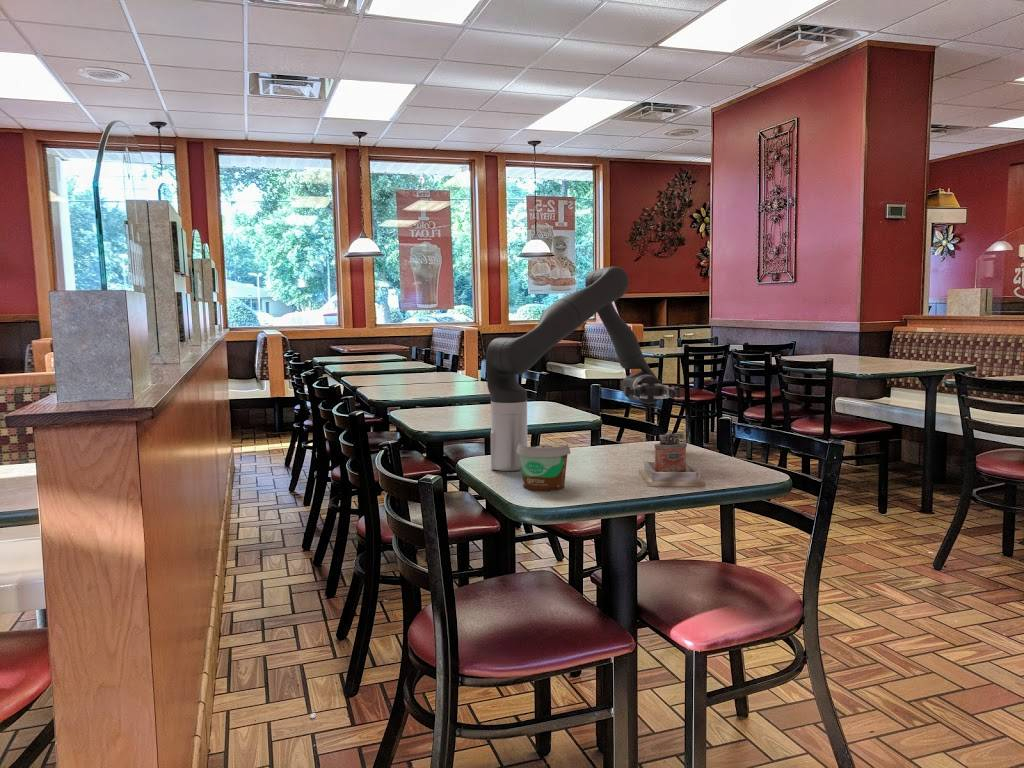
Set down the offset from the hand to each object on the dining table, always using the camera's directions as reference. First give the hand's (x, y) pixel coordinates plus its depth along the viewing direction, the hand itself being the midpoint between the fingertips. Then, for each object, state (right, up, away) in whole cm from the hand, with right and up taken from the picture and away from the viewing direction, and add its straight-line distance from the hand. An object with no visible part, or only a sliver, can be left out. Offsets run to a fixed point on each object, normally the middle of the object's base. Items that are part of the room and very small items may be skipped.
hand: (656, 393), depth 189 cm
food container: (-30, -21, -20) cm, 42 cm away
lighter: (+1, -19, -12) cm, 23 cm away
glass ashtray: (+1, -20, -12) cm, 23 cm away
